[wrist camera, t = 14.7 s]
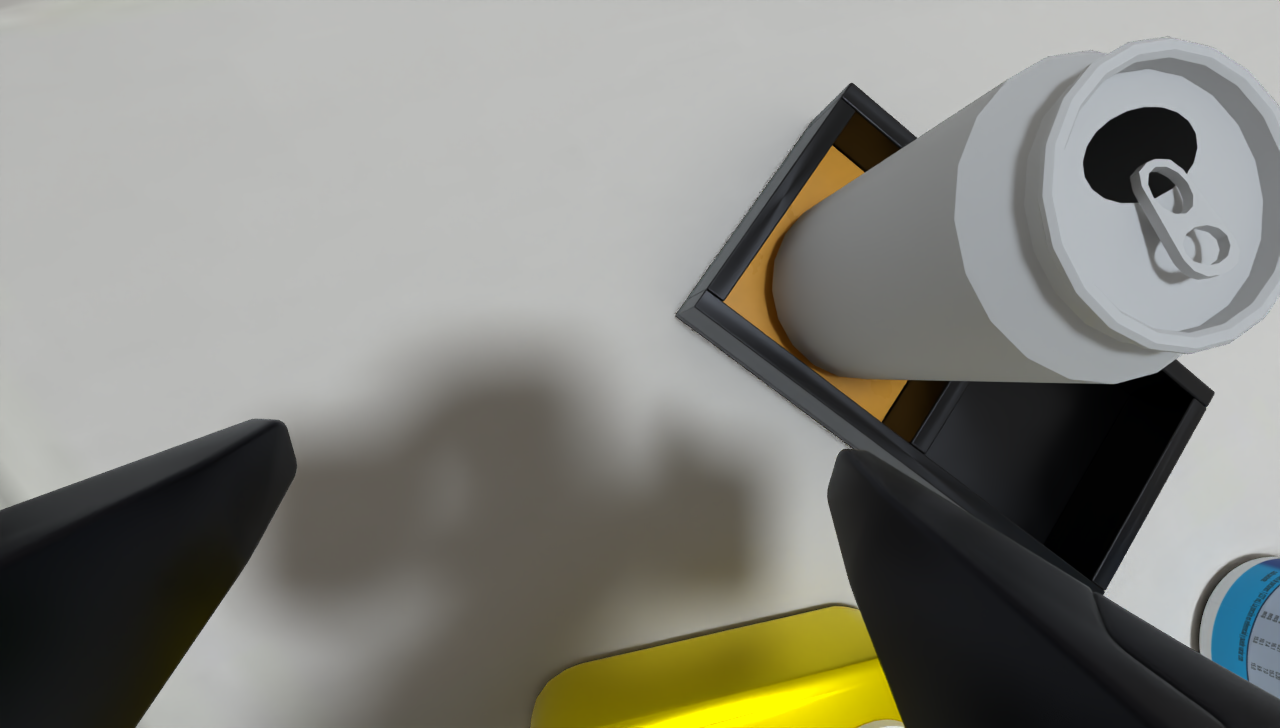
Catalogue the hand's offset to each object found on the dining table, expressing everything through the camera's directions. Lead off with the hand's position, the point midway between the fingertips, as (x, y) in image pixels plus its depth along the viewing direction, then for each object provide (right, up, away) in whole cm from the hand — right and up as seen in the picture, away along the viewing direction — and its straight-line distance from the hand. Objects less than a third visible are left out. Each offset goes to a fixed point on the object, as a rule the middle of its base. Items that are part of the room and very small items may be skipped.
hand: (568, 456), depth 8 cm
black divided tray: (+14, +2, +15) cm, 20 cm away
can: (+10, +5, +13) cm, 17 cm away
